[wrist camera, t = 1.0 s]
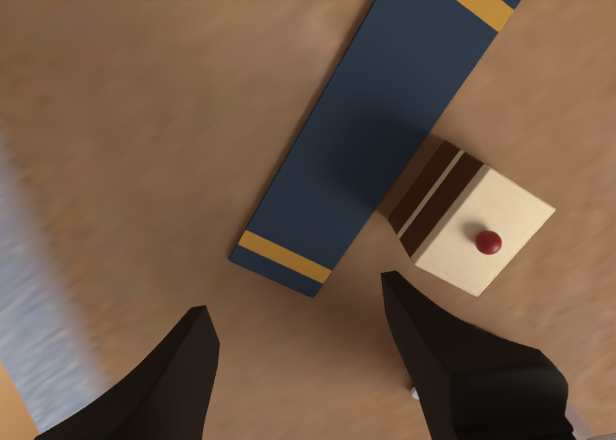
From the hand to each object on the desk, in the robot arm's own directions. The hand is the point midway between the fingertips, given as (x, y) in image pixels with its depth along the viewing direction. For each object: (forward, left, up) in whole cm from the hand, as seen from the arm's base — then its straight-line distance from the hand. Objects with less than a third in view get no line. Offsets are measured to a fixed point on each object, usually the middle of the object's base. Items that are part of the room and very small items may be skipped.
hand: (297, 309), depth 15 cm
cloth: (-1, -6, -10) cm, 11 cm away
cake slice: (-8, -6, -10) cm, 14 cm away
